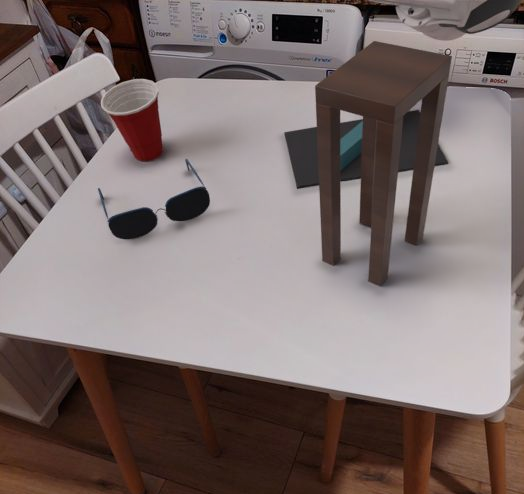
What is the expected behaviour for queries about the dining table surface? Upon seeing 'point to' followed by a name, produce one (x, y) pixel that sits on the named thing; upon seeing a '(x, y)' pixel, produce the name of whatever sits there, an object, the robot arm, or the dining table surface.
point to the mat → (306, 158)
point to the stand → (380, 142)
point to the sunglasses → (146, 220)
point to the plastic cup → (136, 116)
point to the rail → (351, 146)
